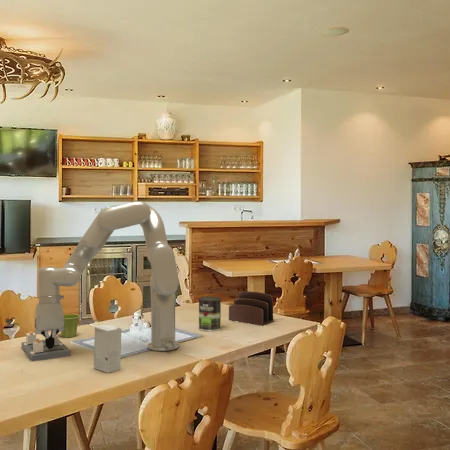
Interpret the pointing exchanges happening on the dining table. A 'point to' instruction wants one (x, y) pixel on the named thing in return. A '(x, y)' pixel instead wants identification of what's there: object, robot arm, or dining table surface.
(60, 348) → the switch bank
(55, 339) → the tab
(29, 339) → the tab
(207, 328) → the coffee can
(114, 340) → the skincare box
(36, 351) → the tab
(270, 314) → the letter holder
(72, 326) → the plant pot
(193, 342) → the dining table surface
